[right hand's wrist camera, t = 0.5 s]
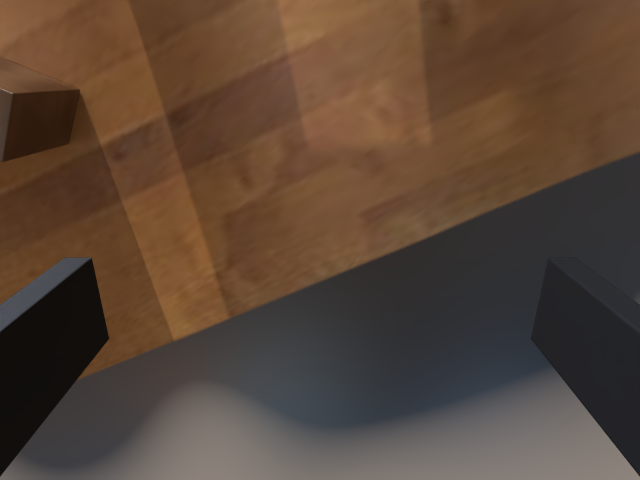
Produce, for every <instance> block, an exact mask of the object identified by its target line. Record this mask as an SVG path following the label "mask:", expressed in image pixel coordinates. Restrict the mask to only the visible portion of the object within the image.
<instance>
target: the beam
mask: <svg viewBox="0 0 640 480" xmlns="http://www.w3.org/2000/svg"><path fill="white" fill-rule="evenodd" d="M78 95H79V89H77V88H75V87H72V86H70V85H68V84H65V83H63V82H60V81H58V80H56V79H53V78H51V77H48V76H46V75H43V74H41V73H39V72H36V71H34V70H31V69H29V68H26V67H24V66H22V65H19V64H17V63H14V62H12V61H10V60H7V59H5V58H2V57H0V161H1V162H4V161H8V160H12V159H15V158H19V157H23V156H26V155H30V154H33V153H37V152H41V151H44V150H48V149H52V148H55V147H59V146H63V145H66V144H68V143H69V139H70V134H71V129H72V124H73V119H74V115H75V110H76V105H77V100H78Z"/></svg>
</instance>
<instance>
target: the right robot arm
mask: <svg viewBox="0 0 640 480" xmlns="http://www.w3.org/2000/svg"><path fill="white" fill-rule="evenodd" d="M108 339H109V336H108V331H107V327H106V322H105V318H104V313H103V308H102V304H101V299H100V294H99V290H98V285H97V280H96V276H95V271H94V266H93V262H92V258H64V259H62V260H61V261H60V262H58V263H57V264H56V265H54V266H53V267H51V268H50V269H49V270H47V271H46V272H45V273H43V274H42V275H40V276H39V277H38V278H36V279H35V280H34V281H32V282H31V283H29V284H28V285H27V286H25V287H24V288H23V289H21V290H20V291H18V292H17V293H16V294H14V295H13V296H12V297H10V298H9V299H8V300H6V301H5V302H3V303H2V304H1V305H0V476H1V475H2V474H3V472H4V471H5V470H6V468H7V467H8V466H9V465H10V463H11V462H12V461H13V460H14V458H15V457H16V456H17V455H18V453H19V452H20V451H21V449H22V448H23V447H24V446H25V444H26V443H27V442H28V441H29V439H30V438H31V437H32V436H33V434H34V433H35V432H36V431H37V429H38V428H39V427H40V425H41V424H42V423H43V422H44V420H45V419H46V418H47V417H48V415H49V414H50V413H51V412H52V410H53V409H54V408H55V406H56V405H57V404H58V403H59V401H60V400H61V399H62V398H63V396H64V395H65V394H66V393H67V391H68V390H69V389H70V387H71V386H72V385H73V384H74V382H75V381H76V380H77V379H78V377H79V376H80V375H81V374H82V372H83V371H84V370H85V369H86V367H87V366H88V365H89V363H90V362H91V361H92V360H93V358H94V357H95V356H96V355H97V353H98V352H99V351H100V350H101V348H102V347H103V346H104V345H105V343H106V342H107V341H108ZM531 339H532V341H533V342H534V343H535V345H536V346H537V347H538V348H539V350H540V351H541V352H542V353H543V355H544V356H545V357H546V358H547V360H548V361H549V362H550V363H551V365H552V366H553V367H554V369H555V370H556V371H557V372H558V374H559V375H560V376H561V377H562V379H563V380H564V381H565V382H566V384H567V385H568V386H569V387H570V389H571V390H572V391H573V393H574V394H575V395H576V396H577V398H578V399H579V400H580V401H581V403H582V404H583V405H584V406H585V408H586V409H587V410H588V412H589V413H590V414H591V415H592V417H593V418H594V419H595V420H596V422H597V423H598V424H599V425H600V427H601V428H602V429H603V430H604V432H605V433H606V434H607V436H608V437H609V438H610V439H611V441H612V442H613V443H614V444H615V446H616V447H617V448H618V449H619V451H620V452H621V453H622V455H623V456H624V457H625V458H626V460H627V461H628V462H629V463H630V465H631V466H632V467H633V468H634V470H635V471H636V472H637V473H638V475H639V476H640V305H639V304H638V303H637V302H635V301H634V300H632V299H631V298H630V297H628V296H627V295H626V294H624V293H623V292H622V291H620V290H619V289H617V288H616V287H615V286H613V285H612V284H611V283H609V282H608V281H606V280H605V279H604V278H602V277H601V276H600V275H598V274H597V273H595V272H594V271H593V270H591V269H590V268H588V267H587V266H586V265H584V264H583V263H582V262H580V261H579V260H578V259H576V258H548V262H547V266H546V271H545V276H544V280H543V285H542V290H541V294H540V299H539V304H538V308H537V313H536V318H535V322H534V327H533V332H532V336H531Z"/></svg>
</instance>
